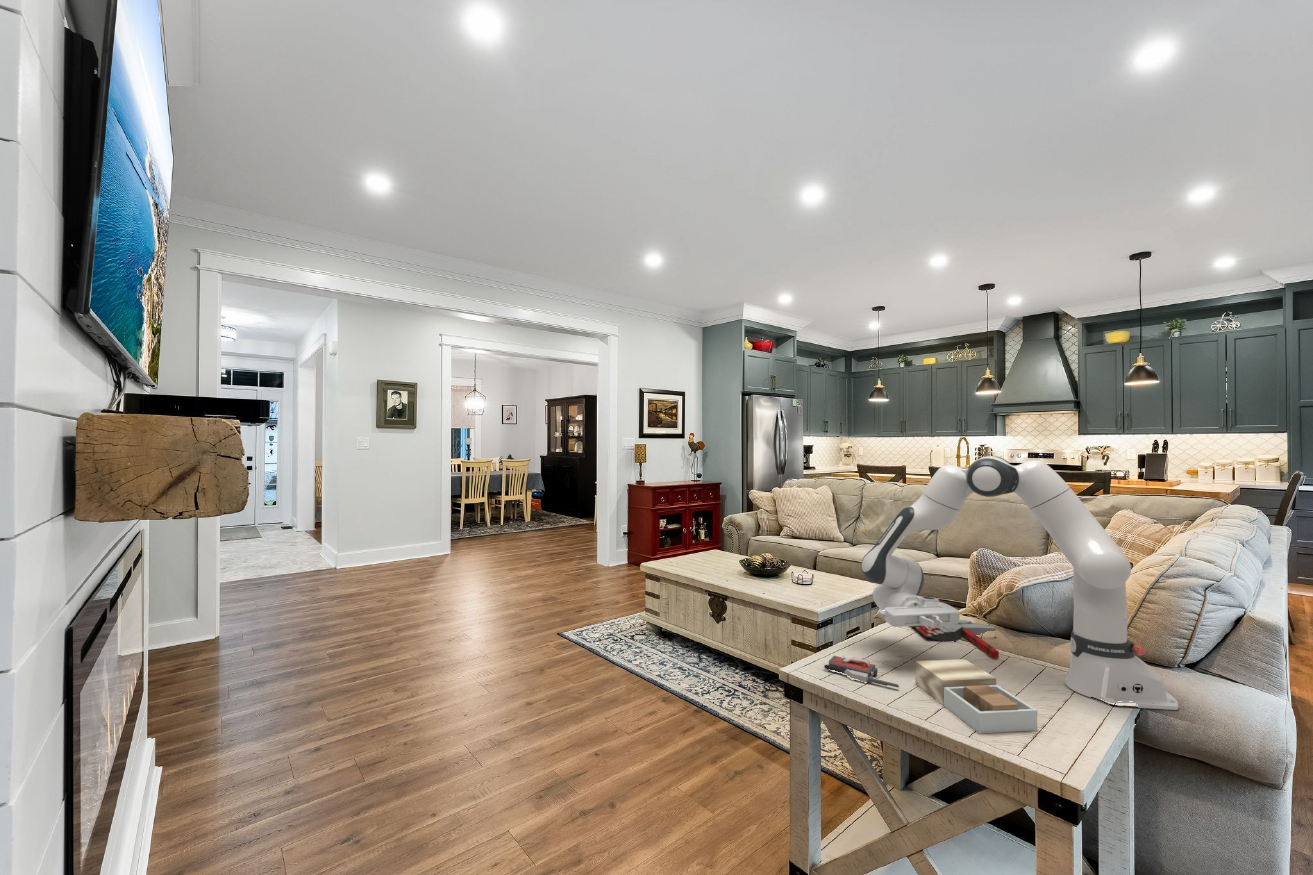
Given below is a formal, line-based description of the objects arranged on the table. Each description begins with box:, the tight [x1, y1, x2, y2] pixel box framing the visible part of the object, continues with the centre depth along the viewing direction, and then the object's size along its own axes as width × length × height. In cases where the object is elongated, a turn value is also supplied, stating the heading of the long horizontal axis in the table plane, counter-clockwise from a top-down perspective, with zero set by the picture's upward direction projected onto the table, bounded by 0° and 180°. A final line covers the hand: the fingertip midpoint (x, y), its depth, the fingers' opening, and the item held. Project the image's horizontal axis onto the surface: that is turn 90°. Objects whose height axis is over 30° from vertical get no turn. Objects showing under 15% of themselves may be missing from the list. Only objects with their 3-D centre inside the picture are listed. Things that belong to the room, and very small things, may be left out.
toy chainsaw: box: [823, 655, 900, 689], centre depth 156 cm, size 9×4×20 cm
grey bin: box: [943, 684, 1038, 734], centre depth 134 cm, size 13×14×4 cm
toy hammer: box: [912, 619, 1000, 659], centre depth 184 cm, size 24×4×30 cm
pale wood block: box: [914, 658, 997, 706], centre depth 147 cm, size 12×14×6 cm
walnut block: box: [964, 685, 1018, 711], centre depth 133 cm, size 5×6×10 cm
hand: (937, 624), depth 155 cm, fingers closed
